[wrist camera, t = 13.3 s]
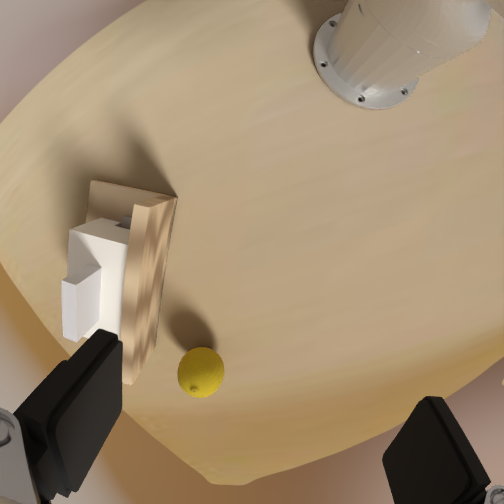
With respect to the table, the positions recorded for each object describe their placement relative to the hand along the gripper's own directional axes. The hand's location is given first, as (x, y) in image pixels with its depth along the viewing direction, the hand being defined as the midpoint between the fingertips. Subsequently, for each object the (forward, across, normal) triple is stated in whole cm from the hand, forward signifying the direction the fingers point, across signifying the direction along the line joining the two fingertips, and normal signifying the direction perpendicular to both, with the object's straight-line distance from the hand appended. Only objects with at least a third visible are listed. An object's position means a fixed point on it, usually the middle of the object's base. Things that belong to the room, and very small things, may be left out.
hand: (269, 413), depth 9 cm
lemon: (+28, +4, +18) cm, 34 cm away
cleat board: (+28, +16, +9) cm, 34 cm away
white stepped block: (+27, +16, +9) cm, 33 cm away
